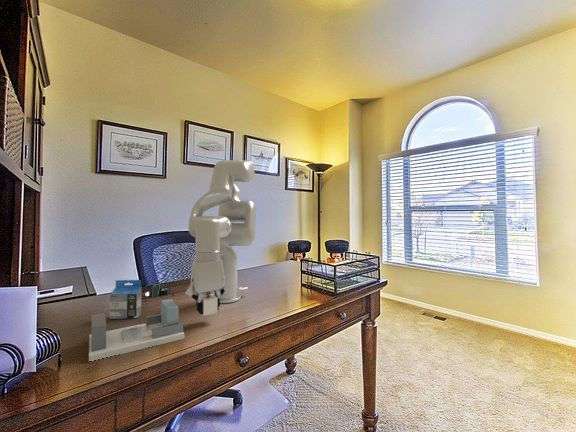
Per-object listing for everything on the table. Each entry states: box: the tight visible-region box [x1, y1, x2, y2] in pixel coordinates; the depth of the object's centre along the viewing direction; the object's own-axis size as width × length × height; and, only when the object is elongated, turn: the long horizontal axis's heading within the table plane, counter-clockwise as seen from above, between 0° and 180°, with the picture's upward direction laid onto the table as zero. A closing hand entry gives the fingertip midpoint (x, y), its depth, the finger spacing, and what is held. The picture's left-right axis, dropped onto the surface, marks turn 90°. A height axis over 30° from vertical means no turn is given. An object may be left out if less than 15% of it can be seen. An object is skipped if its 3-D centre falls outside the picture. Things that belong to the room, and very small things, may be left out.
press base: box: [88, 322, 185, 362], centre depth 78 cm, size 22×14×2 cm, turn 125°
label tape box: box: [109, 279, 142, 320], centre depth 94 cm, size 9×4×12 cm, turn 95°
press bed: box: [91, 312, 184, 352], centre depth 78 cm, size 22×11×6 cm, turn 125°
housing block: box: [201, 291, 218, 317], centre depth 90 cm, size 4×4×6 cm
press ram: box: [160, 298, 180, 326], centre depth 83 cm, size 3×9×7 cm, turn 35°
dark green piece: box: [145, 281, 175, 298], centre depth 122 cm, size 15×15×6 cm
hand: (208, 310), depth 90 cm, fingers closed on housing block, 4 cm apart
